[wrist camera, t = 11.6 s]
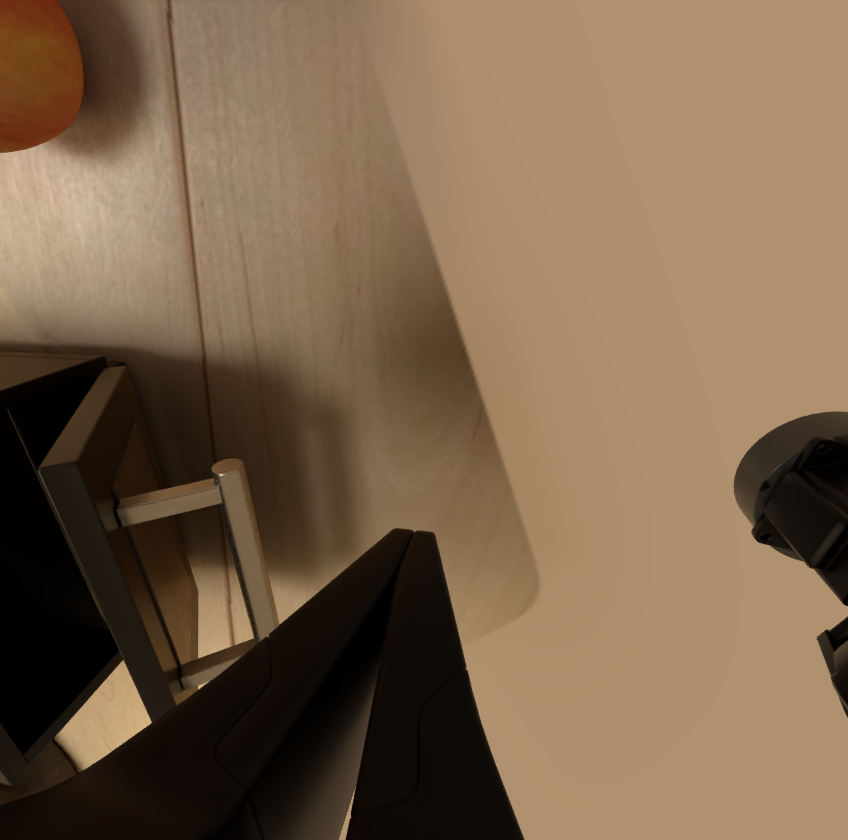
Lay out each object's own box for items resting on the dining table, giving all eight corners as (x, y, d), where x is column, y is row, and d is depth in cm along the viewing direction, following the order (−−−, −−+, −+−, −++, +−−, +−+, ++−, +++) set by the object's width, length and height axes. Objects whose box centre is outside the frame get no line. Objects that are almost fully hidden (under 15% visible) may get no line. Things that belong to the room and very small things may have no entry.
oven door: (222, 352, 23) (235, 431, 15) (269, 569, 30) (298, 714, 21) (102, 367, 21) (35, 469, 13) (181, 597, 28) (172, 770, 19)
